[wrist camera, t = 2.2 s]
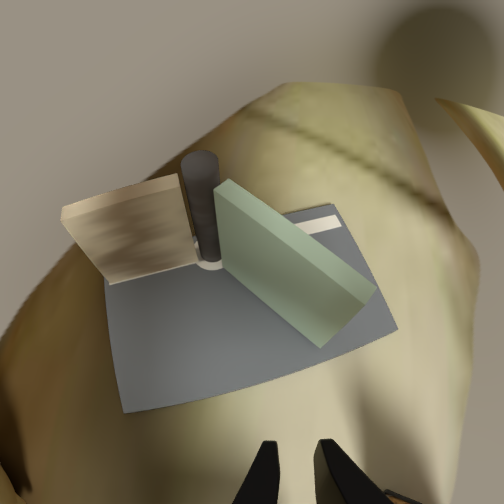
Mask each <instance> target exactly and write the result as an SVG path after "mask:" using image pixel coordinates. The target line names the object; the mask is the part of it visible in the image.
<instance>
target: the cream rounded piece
mask: <svg viewBox="0 0 504 504" xmlns="http://www.w3.org/2000/svg"><path fill="white" fill-rule="evenodd" d="M0 504H27V503H26V502H25V501H24V500H23V499H22V498H21V497H19V496H18V495H17V494H16V493H15V491H14V488H13V486H12V484H11V482H10V480H9V478H8V476H7V474H6V473H5V471H4V470H3V468H2V467H1V464H0Z"/></svg>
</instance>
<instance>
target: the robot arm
mask: <svg viewBox="0 0 504 504" xmlns="http://www.w3.org/2000/svg"><path fill="white" fill-rule="evenodd" d="M314 475H315V493H316V502H317V504H394V503H393V502H392V501H391V500H390V499H389V498H388V497H387V496H386V495H385V494H384V493H383V492H382V491H381V490H380V489H379V488H378V487H377V486H376V485H375V484H374V483H373V482H372V481H371V480H370V478H369V477H368V476H367V475H366V474H365V473H364V472H363V471H362V470H361V469H360V468H359V467H358V466H357V465H356V464H355V463H354V462H353V461H352V459H351V458H350V457H349V456H348V455H347V454H346V453H345V452H344V451H343V450H342V449H341V448H340V446H339V445H338V444H337V443H336V442H335V441H334V440H333V439H320V440H319V441H318V444H317V447H316V450H315V453H314ZM279 483H280V464H279V455H278V446H277V442H276V441H263V443H262V445H261V447H260V449H259V451H258V453H257V455H256V457H255V459H254V462H253V464H252V466H251V468H250V470H249V472H248V474H247V476H246V478H245V480H244V482H243V484H242V486H241V488H240V490H239V491H238V493H237V495H236V497H235V499H234V501H233V503H232V504H277V500H278V492H279Z"/></svg>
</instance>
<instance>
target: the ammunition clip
mask: <svg viewBox="0 0 504 504" xmlns="http://www.w3.org/2000/svg"><path fill="white" fill-rule="evenodd" d="M383 493H384V494H385V495H386V496H387V497H388V498H389V499H390V500H391V501H392V502H393V503H394V504H422V503H420V502H417V501H415V500H412V499H409V498H407V497H404V496H402V495H400V494H397V493H395V492H392V491H390V490H388V489H387V490H385V491H384V492H383Z"/></svg>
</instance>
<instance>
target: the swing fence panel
mask: <svg viewBox="0 0 504 504" xmlns="http://www.w3.org/2000/svg"><path fill="white" fill-rule="evenodd" d="M213 192H214V201H215V209H216V218H217V226H218V234H219V242H220V250H221V258H222V266H223V267H224V268H225V269H226V270H227V271H228V272H229V273H230V274H232V275H233V276H234V277H235V278H236V279H237V280H239V281H240V282H241V283H242V284H243V285H244V286H246V287H247V288H248V289H249V290H250V291H251V292H253V293H254V294H255V295H256V296H257V297H258V298H260V299H261V300H262V301H263V302H264V303H266V304H267V305H268V306H269V307H270V308H272V309H273V310H274V311H275V312H276V313H277V314H279V315H280V316H281V317H282V318H283V319H285V320H286V321H287V322H288V323H289V324H291V325H292V326H293V327H294V328H295V329H297V330H298V331H299V332H300V333H302V334H303V335H304V336H305V337H306V338H308V339H309V340H310V341H311V342H312V343H314V344H315V345H316V346H317V347H319V348H321V347H322V346H323V345H325V344H326V343H327V342H328V341H329V340H330V339H331V338H332V337H333V336H334V335H335V334H336V333H337V332H338V331H339V330H341V329H342V328H343V327H344V326H345V325H346V324H347V323H348V322H349V321H350V320H351V319H352V318H353V317H354V316H355V315H356V314H357V313H358V312H359V311H360V310H361V309H362V308H363V307H364V306H365V305H366V303H367V302H368V300H369V299H370V297H371V296H372V295H373V293H374V292H375V290H376V289H377V287H376V286H375V285H374V284H372V283H371V282H370V281H369V280H367V279H366V278H365V277H364V276H362V275H361V274H360V273H358V272H357V271H356V270H355V269H353V268H352V267H351V266H349V265H348V264H347V263H345V262H344V261H343V260H341V259H340V258H339V257H338V256H336V255H335V254H334V253H332V252H331V251H330V250H328V249H327V248H326V247H324V246H323V245H322V244H320V243H319V242H318V241H316V240H315V239H313V238H312V237H311V236H309V235H308V234H307V233H305V232H304V231H303V230H301V229H300V228H299V227H297V226H296V225H294V224H293V223H292V222H290V221H289V220H287V219H286V218H285V217H283V216H282V215H280V214H279V213H278V212H276V211H275V210H273V209H272V208H271V207H269V206H268V205H266V204H265V203H264V202H262V201H261V200H259V199H258V198H256V197H255V196H254V195H252V194H251V193H249V192H248V191H246V190H245V189H243V188H242V187H240V186H239V185H238V184H236V183H235V182H233V181H232V180H230V179H227V180H226V181H224V182H223V183H222V184H220V185H219V186H218V187H216V188H215V189H213Z"/></svg>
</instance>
